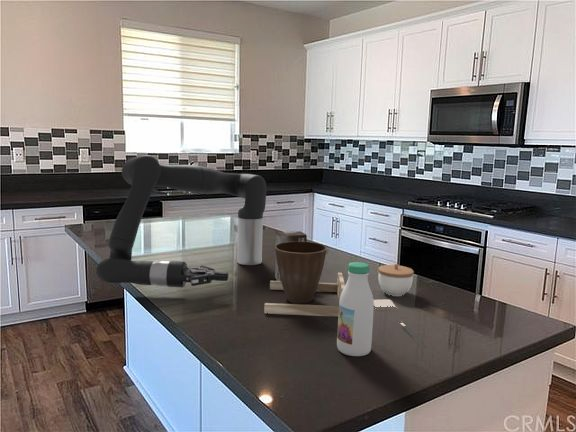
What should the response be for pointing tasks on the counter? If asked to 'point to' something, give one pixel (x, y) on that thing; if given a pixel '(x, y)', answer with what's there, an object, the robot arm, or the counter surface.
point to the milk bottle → (356, 312)
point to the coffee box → (288, 237)
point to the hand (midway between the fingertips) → (227, 276)
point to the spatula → (389, 303)
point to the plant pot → (300, 269)
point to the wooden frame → (307, 309)
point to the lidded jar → (395, 279)
